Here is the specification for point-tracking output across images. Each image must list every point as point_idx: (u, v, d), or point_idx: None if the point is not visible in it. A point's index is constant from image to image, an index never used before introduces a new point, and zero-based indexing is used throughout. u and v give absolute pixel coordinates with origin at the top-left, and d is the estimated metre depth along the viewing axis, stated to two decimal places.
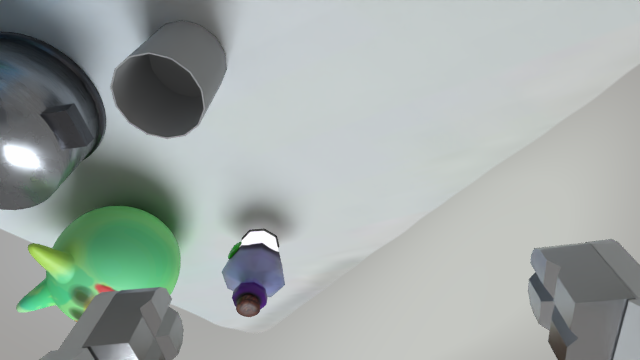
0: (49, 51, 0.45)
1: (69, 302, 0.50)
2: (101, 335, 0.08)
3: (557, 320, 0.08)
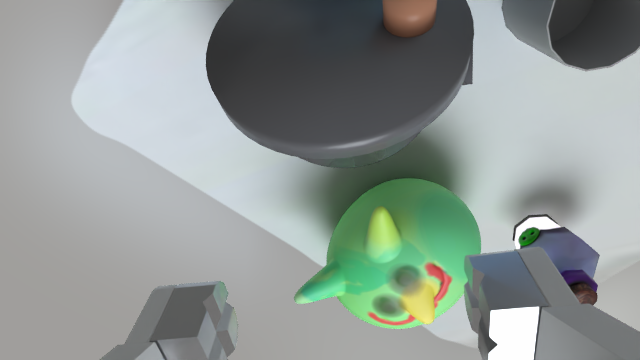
0: None
1: (381, 288, 0.41)
2: (167, 329, 0.08)
3: (483, 326, 0.08)
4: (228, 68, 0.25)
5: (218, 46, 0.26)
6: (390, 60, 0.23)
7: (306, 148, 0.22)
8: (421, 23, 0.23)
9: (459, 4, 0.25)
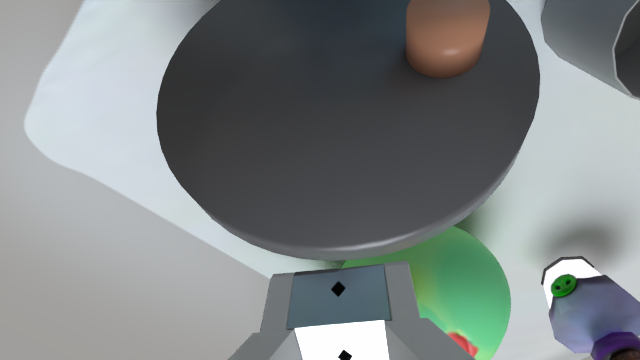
0: None
1: None
2: (302, 317, 0.08)
3: None
4: (187, 119, 0.18)
5: (175, 84, 0.19)
6: (418, 113, 0.16)
7: (294, 249, 0.15)
8: (463, 59, 0.16)
9: (514, 29, 0.17)
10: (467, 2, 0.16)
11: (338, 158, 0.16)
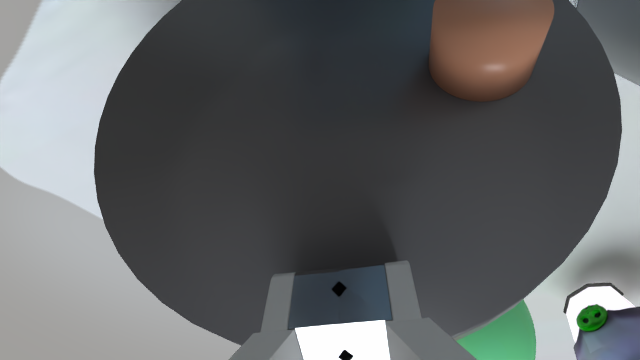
0: None
1: None
2: (303, 316, 0.08)
3: None
4: (135, 156, 0.13)
5: (122, 107, 0.14)
6: (450, 153, 0.11)
7: None
8: (513, 77, 0.11)
9: (577, 33, 0.13)
10: None
11: (338, 218, 0.11)
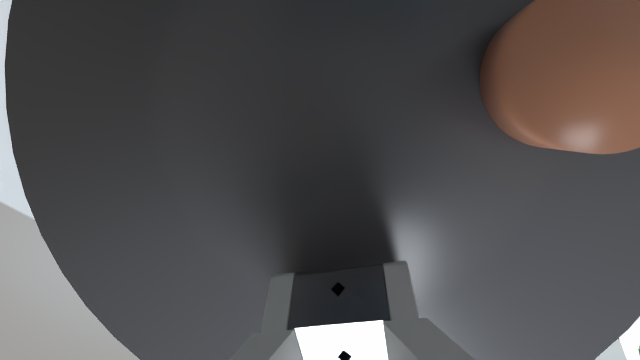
0: None
1: None
2: (302, 317, 0.08)
3: None
4: (86, 212, 0.10)
5: (37, 129, 0.10)
6: (492, 226, 0.09)
7: None
8: None
9: None
10: None
11: None
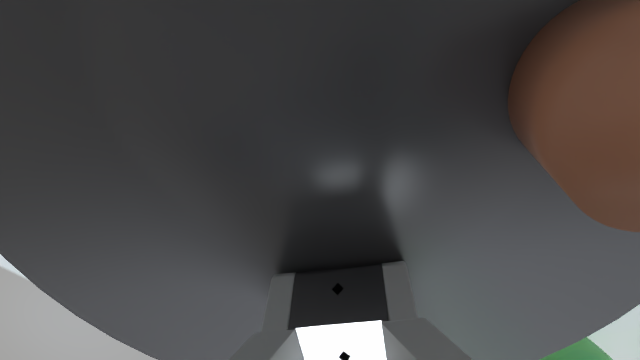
0: None
1: None
2: (303, 317, 0.08)
3: None
4: (48, 237, 0.09)
5: None
6: (501, 241, 0.09)
7: None
8: None
9: None
10: None
11: None
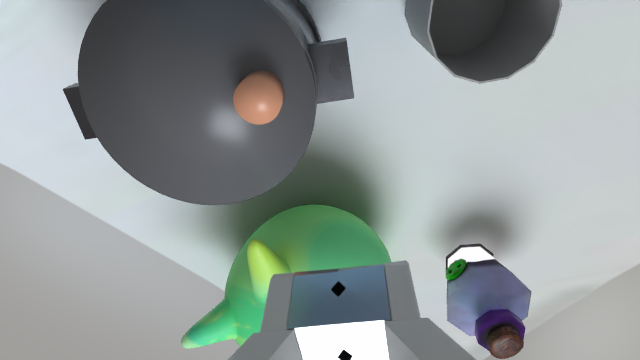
0: None
1: None
2: (302, 317, 0.08)
3: None
4: (118, 139, 0.30)
5: (95, 112, 0.29)
6: (251, 138, 0.30)
7: None
8: None
9: (305, 77, 0.28)
10: (268, 96, 0.26)
11: (213, 164, 0.31)
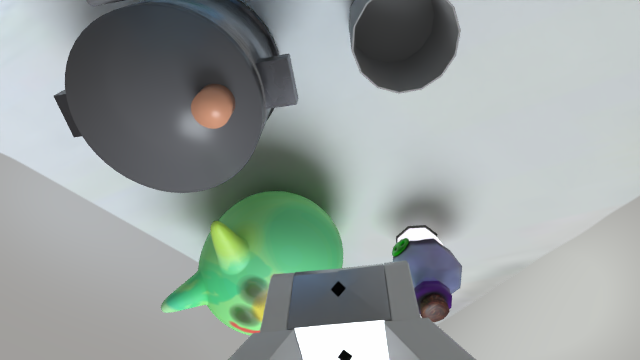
0: (242, 6, 0.41)
1: (234, 298, 0.43)
2: (302, 317, 0.08)
3: None
4: (100, 138, 0.36)
5: (80, 116, 0.35)
6: (210, 138, 0.36)
7: None
8: None
9: (251, 89, 0.34)
10: (219, 106, 0.32)
11: (180, 159, 0.37)
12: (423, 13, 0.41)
